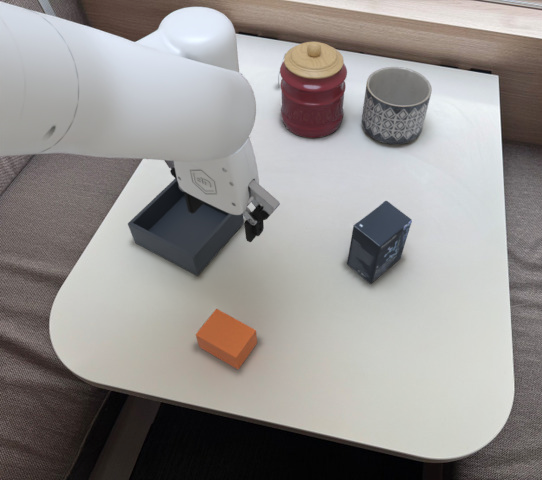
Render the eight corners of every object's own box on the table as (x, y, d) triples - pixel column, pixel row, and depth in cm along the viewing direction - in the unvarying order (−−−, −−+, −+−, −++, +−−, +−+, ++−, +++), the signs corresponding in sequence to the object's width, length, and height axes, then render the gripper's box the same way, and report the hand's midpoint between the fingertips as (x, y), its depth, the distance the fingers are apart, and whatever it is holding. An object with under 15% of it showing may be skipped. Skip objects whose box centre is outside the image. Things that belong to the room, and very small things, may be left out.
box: (370, 285, 85) (379, 246, 76) (346, 264, 87) (351, 224, 79) (401, 259, 88) (413, 219, 80) (377, 239, 91) (385, 198, 82)
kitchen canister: (279, 100, 113) (277, 24, 99) (338, 98, 114) (344, 23, 100) (282, 140, 105) (280, 64, 91) (346, 138, 106) (353, 62, 92)
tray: (197, 276, 84) (192, 258, 80) (134, 242, 88) (127, 223, 84) (244, 222, 92) (241, 203, 88) (184, 193, 95) (179, 174, 91)
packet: (238, 369, 75) (235, 357, 72) (199, 347, 77) (195, 334, 74) (257, 342, 78) (256, 330, 75) (219, 321, 80) (216, 308, 76)
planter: (389, 156, 104) (398, 115, 95) (348, 123, 109) (353, 81, 101) (433, 132, 109) (445, 90, 101) (392, 101, 115) (399, 59, 106)
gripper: (128, 114, 59) (158, 213, 73) (255, 172, 54) (263, 265, 68) (171, 81, 63) (192, 180, 77) (293, 131, 58) (292, 227, 72)
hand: (225, 220), depth 72 cm, fingers open, 9 cm apart
